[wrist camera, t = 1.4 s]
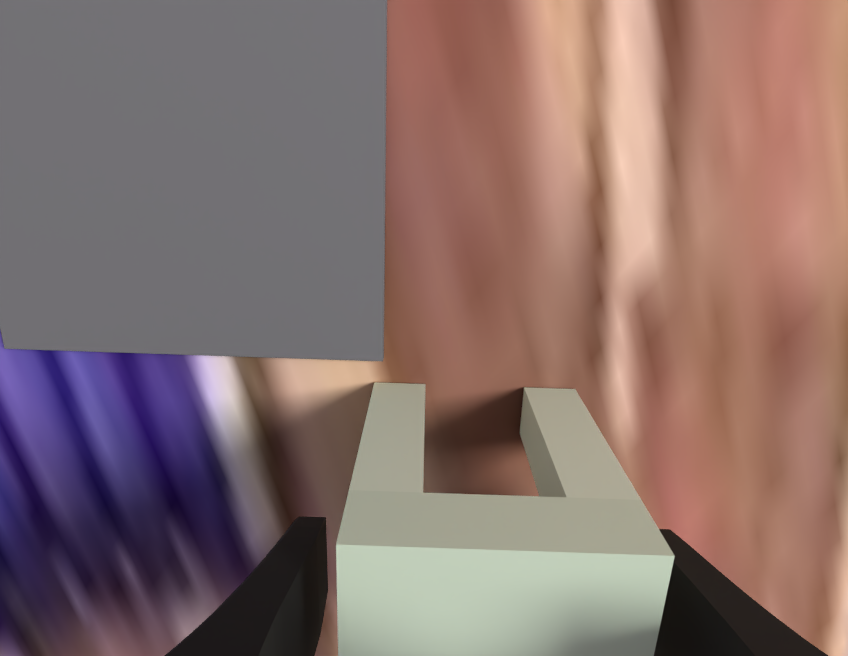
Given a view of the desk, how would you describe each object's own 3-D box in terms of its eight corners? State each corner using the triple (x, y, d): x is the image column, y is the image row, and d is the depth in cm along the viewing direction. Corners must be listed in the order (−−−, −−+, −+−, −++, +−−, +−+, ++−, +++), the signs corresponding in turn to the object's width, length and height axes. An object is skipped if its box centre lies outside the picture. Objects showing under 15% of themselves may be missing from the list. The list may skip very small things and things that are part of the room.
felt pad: (383, 356, 15) (382, 361, 15) (13, 344, 15) (4, 348, 15) (388, -81, 12) (386, -86, 12) (-82, -97, 12) (-94, -103, 12)
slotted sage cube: (553, 554, 17) (625, 790, 11) (373, 548, 17) (341, 780, 11) (575, 389, 15) (674, 556, 9) (374, 382, 15) (335, 544, 9)
